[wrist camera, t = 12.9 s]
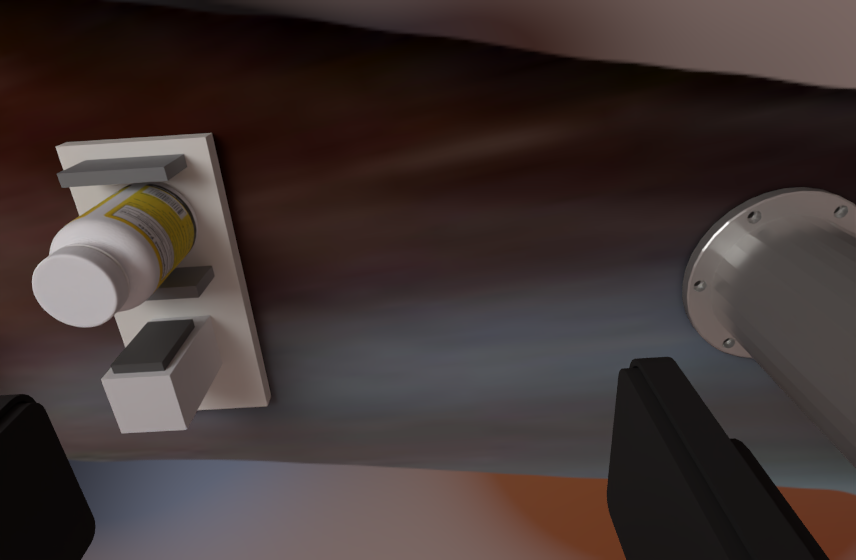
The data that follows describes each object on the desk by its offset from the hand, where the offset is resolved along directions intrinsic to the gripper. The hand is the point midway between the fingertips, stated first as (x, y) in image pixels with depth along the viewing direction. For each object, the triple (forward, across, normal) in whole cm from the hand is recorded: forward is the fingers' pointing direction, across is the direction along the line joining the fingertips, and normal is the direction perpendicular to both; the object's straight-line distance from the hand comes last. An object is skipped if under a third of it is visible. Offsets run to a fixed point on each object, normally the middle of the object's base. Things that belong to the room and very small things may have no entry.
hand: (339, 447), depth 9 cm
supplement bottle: (+27, +16, +5) cm, 32 cm away
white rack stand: (+28, +16, +10) cm, 34 cm away
